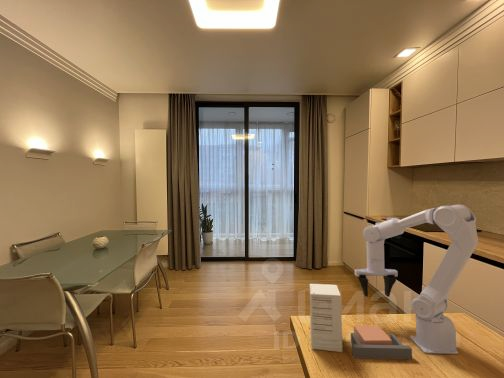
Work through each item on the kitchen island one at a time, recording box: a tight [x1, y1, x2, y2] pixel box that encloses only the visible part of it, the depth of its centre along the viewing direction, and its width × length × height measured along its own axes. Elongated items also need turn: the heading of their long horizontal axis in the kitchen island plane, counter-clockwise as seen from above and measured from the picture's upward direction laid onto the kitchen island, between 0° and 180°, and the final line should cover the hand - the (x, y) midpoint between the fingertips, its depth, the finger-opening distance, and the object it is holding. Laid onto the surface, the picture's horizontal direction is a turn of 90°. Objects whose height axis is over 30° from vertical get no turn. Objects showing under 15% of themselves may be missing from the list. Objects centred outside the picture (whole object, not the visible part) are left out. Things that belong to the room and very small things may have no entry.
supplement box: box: [309, 283, 343, 353], centre depth 79 cm, size 10×9×17 cm
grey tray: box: [350, 332, 413, 360], centre depth 75 cm, size 16×8×3 cm, turn 86°
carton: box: [353, 325, 392, 345], centre depth 77 cm, size 8×8×4 cm
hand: (376, 295), depth 91 cm, fingers open, 7 cm apart
